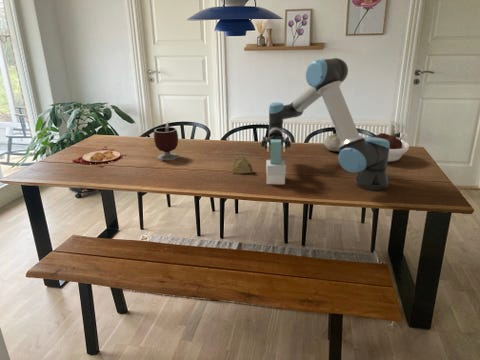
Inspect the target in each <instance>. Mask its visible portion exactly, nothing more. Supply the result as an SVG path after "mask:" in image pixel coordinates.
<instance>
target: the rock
mask: <svg viewBox="0 0 480 360" xmlns="http://www.w3.org/2000/svg"><path fill="white" fill-rule="evenodd" d="M253 168H254V167H253V166H252V164H251V163H250V162H249V160H248V159H247V158H246V157H245V156H244V155H243V154H241V153H237V155H236V157H235V159H234V164H233V167H232V172H231V174H232V175H234V174H241V175H242V174H248V173H249V174H250V173H251V174H252V173H254V169H253Z"/></svg>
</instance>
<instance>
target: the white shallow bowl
mask: <svg viewBox="0 0 480 360" xmlns="http://www.w3.org/2000/svg"><path fill="white" fill-rule="evenodd" d="M371 137H376V138H382V139H386V140H388V141H389V143H390V146H389V148H390V149H389V155H388V162H396V161H399V160H400V159H401V158H402V156H403V155H404V154H406V152H408V150H409V149H410V145H409V143H408V142H406V141H404V140H401V139H400V138H399V139H398V138H397V137H396V135H390V134H388V133H383V132H381V133H378V134H376V135H372V136H371Z"/></svg>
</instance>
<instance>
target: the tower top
mask: <svg viewBox="0 0 480 360" xmlns="http://www.w3.org/2000/svg"><path fill="white" fill-rule="evenodd" d="M265 163H266V165H265V171H266V177H267V176H270V175H285V176H286V175H287V164H286V162H285V159H281V164H270V159H266V162H265Z"/></svg>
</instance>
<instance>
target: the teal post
mask: <svg viewBox="0 0 480 360" xmlns="http://www.w3.org/2000/svg"><path fill="white" fill-rule="evenodd" d="M269 160H270V164H281V160H282V145H281V140H271V145H270V158H269Z"/></svg>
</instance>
